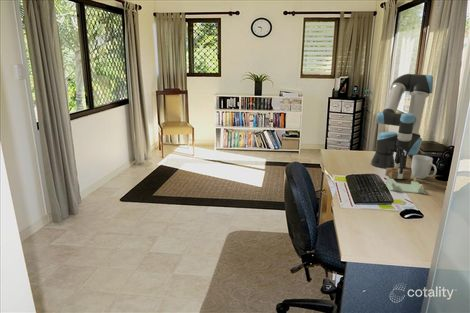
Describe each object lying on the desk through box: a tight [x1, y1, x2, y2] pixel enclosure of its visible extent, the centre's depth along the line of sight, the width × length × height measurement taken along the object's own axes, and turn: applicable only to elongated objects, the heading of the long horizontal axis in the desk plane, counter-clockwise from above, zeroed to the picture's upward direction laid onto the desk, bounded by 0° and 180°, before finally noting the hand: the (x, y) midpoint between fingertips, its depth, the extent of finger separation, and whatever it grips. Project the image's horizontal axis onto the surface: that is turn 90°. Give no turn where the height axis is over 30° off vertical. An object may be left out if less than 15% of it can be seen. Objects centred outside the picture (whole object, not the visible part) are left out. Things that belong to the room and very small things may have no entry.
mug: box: [410, 154, 438, 180], centre depth 218 cm, size 15×11×13 cm
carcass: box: [384, 176, 427, 195], centre depth 199 cm, size 13×19×5 cm
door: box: [384, 167, 412, 180], centre depth 214 cm, size 6×13×6 cm, turn 101°
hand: (397, 176), depth 215 cm, fingers closed on door, 8 cm apart
